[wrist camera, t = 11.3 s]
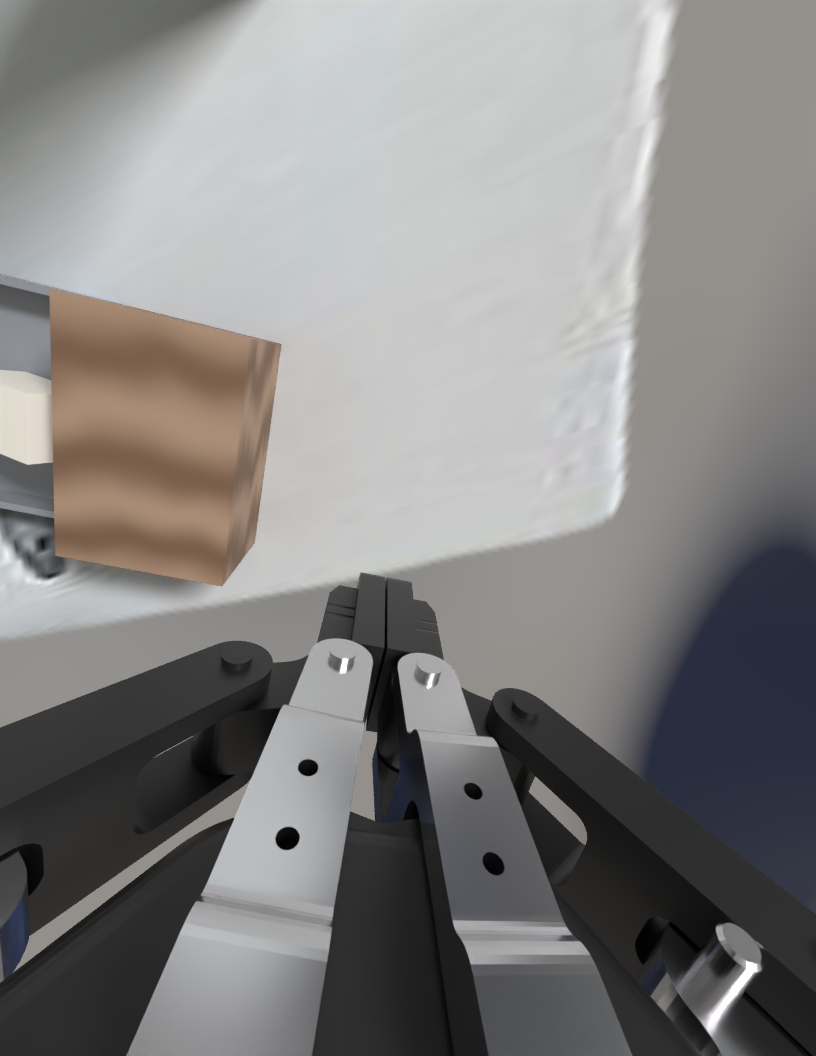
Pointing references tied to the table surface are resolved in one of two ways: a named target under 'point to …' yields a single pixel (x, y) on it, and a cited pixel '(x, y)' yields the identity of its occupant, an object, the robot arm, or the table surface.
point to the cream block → (26, 417)
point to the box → (24, 345)
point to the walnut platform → (156, 438)
